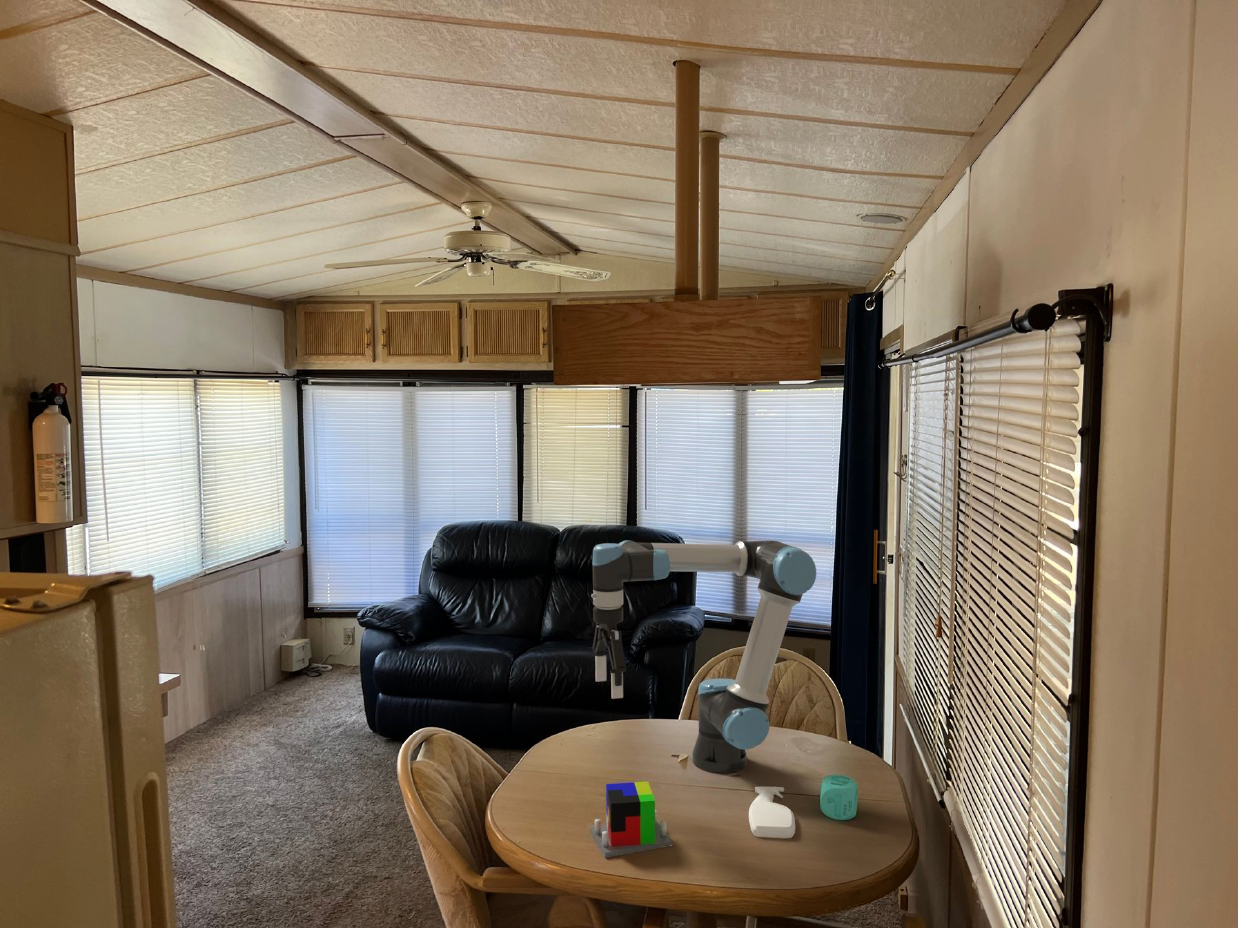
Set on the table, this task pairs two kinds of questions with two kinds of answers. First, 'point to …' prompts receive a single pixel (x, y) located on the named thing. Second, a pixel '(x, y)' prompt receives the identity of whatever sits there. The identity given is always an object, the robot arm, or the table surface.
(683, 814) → the table surface
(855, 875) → the table surface
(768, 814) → the spray bottle
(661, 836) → the pin tray
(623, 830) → the puzzle toy
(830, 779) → the decorative dice
